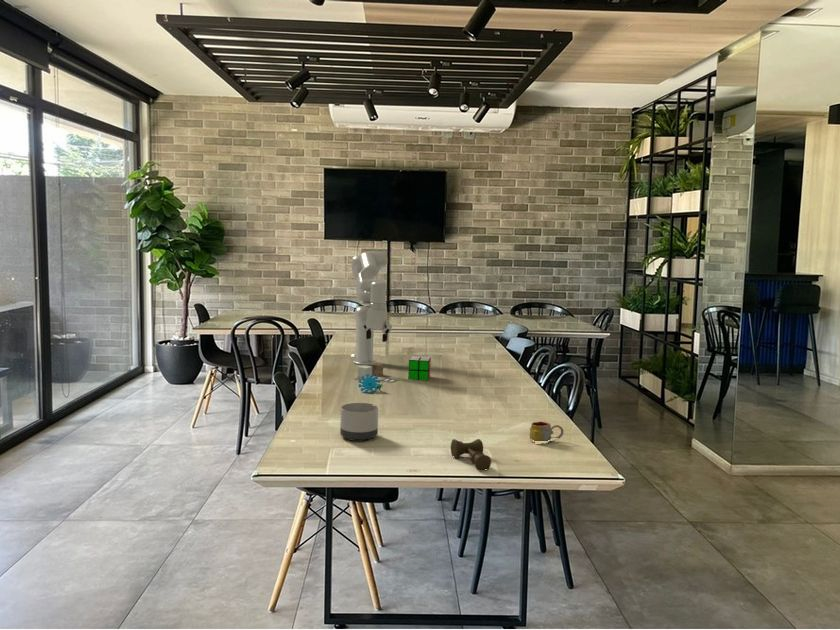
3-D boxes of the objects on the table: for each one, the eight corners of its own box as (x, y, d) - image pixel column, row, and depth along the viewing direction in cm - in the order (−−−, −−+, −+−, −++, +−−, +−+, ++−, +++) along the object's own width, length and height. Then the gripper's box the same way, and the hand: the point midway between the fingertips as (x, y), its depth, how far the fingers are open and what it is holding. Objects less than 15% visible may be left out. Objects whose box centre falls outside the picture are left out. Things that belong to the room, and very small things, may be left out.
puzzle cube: (430, 376, 322) (430, 357, 321) (428, 380, 312) (429, 360, 311) (410, 375, 323) (411, 356, 322) (408, 379, 313) (408, 359, 312)
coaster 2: (377, 381, 308) (377, 380, 308) (387, 378, 315) (387, 377, 314) (391, 383, 304) (391, 382, 304) (400, 380, 310) (400, 380, 310)
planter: (381, 441, 216) (382, 411, 214) (343, 443, 212) (344, 413, 211) (373, 430, 228) (373, 401, 227) (337, 432, 224) (338, 403, 223)
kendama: (468, 474, 189) (445, 450, 208) (497, 472, 192) (472, 449, 211) (470, 455, 189) (446, 433, 207) (499, 453, 192) (474, 432, 210)
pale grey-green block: (357, 379, 310) (357, 366, 309) (363, 377, 314) (363, 365, 313) (365, 380, 307) (366, 368, 306) (371, 378, 311) (372, 366, 311)
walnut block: (369, 375, 320) (369, 364, 319) (374, 374, 324) (375, 362, 323) (377, 377, 317) (377, 365, 316) (382, 375, 321) (383, 363, 321)
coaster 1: (353, 379, 309) (353, 379, 309) (363, 377, 316) (363, 376, 316) (366, 382, 305) (366, 381, 305) (376, 379, 312) (376, 378, 312)
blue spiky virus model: (354, 389, 283) (362, 370, 289) (356, 396, 288) (363, 377, 293) (378, 394, 281) (385, 375, 287) (379, 401, 285) (386, 382, 291)
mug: (532, 445, 218) (533, 426, 217) (526, 438, 224) (528, 420, 223) (566, 445, 219) (567, 426, 218) (560, 438, 226) (561, 420, 225)
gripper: (359, 305, 318) (358, 338, 320) (388, 309, 309) (386, 343, 312) (368, 303, 324) (366, 336, 327) (396, 307, 315) (395, 341, 318)
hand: (376, 340), depth 319 cm, fingers open, 9 cm apart
